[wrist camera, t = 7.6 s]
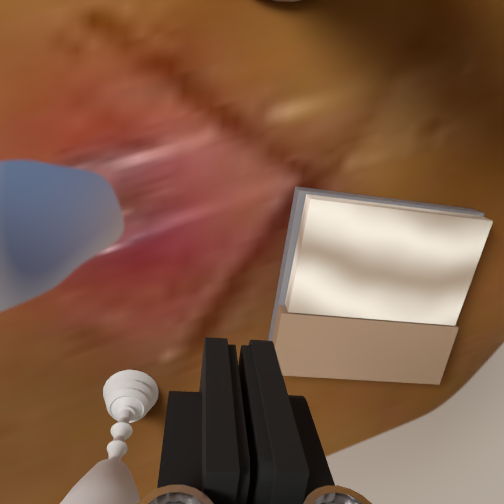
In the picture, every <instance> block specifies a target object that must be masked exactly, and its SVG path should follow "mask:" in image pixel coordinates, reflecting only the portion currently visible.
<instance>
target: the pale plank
mask: <svg viewBox="0 0 504 504" xmlns="http://www.w3.org/2000/svg"><path fill="white" fill-rule="evenodd" d="M492 223H493V221H492V220H490V219H488V218H485V217H483V216H480V215H472V214H464V213H456V212H448V211H439V210H431V209H423V208H415V207H407V206H399V205H391V204H383V203H375V202H366V201H358V200H350V199H342V198H334V197H326V196H318V195H310V194H306V198H305V203H304V208H303V214H302V219H301V224H300V229H299V234H298V239H297V244H296V249H295V254H294V259H293V265H292V270H291V275H290V280H289V285H288V290H287V295H286V300H285V305H286V308H287V311H288V312H291V313H304V314H316V315H329V316H341V317H353V318H366V319H378V320H390V321H403V322H415V323H427V324H440V325H452V326H455V325H456V322H457V319H458V316H459V314H460V311H461V308H462V305H463V303H464V300H465V297H466V294H467V292H468V289H469V286H470V283H471V281H472V278H473V275H474V272H475V270H476V267H477V264H478V261H479V259H480V256H481V253H482V250H483V248H484V245H485V242H486V239H487V237H488V234H489V231H490V228H491V226H492Z"/></svg>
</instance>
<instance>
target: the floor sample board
mask: <svg viewBox="0 0 504 504" xmlns="http://www.w3.org/2000/svg"><path fill="white" fill-rule="evenodd" d="M306 194H310V195H318V196H326V197H334V198H342V199H350V200H358V201H366V202H375V203H383V204H391V205H399V206H407V207H415V208H423V209H431V210H439V211H448V212H456V213H464V214H472V215H480V216H483V217H484V214H485V213H483V212H480V211H478V210H475V209H471V208H463V207H455V206H447V205H439V204H431V203H423V202H415V201H407V200H399V199H391V198H383V197H375V196H367V195H359V194H351V193H343V192H335V191H327V190H319V189H311V188H304V187H296V186H295V192H294V197H293V203H292V209H291V214H290V220H289V226H288V231H287V237H286V242H285V248H284V254H283V259H282V265H281V271H280V276H279V282H278V287H277V293H276V299H275V304H274V310H273V316H272V321H271V327H270V332H269V338H268V341H273V343H274V347H275V351H276V354H277V358H278V361H279V365H280V368H281V372H282V375H283V376H300V377H317V378H335V379H352V380H369V381H386V382H403V383H420V384H437V385H440V382H441V379H442V376H443V373H444V370H445V367H446V364H447V361H448V358H449V355H450V352H451V349H452V347H453V344H454V341H455V338H456V335H457V332H458V329H459V327H458V326H457V325H455V326H452V325H440V324H427V323H415V322H403V321H390V320H378V319H366V318H353V317H341V316H329V315H316V314H304V313H291V312H288V311H287V308H286V305H285V300H286V295H287V290H288V285H289V280H290V275H291V270H292V265H293V259H294V254H295V249H296V244H297V239H298V234H299V229H300V224H301V219H302V214H303V208H304V203H305V198H306Z"/></svg>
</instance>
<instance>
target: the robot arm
mask: <svg viewBox="0 0 504 504" xmlns="http://www.w3.org/2000/svg"><path fill="white" fill-rule="evenodd" d="M274 1H286V2H295V1H300V0H274ZM137 504H372V503H371V502H369V501H368V500H367V499H366V498H365V497H364V496H362V495H360V494H359V493H357V492H355V491H353V490H351V489H348V488H345V487H341V486H335V484H334V482H333V478H332V475H331V473H330V470H329V467H328V464H327V460H326V457H325V455H324V452H323V449H322V446H321V443H320V440H319V437H318V434H317V431H316V428H315V425H314V422H313V419H312V416H311V413H310V410H309V407H308V404H307V401H306V399H305V397H303V396H293V395H288V393H287V390H286V386H285V383H284V379H283V376H282V372H281V368H280V365H279V361H278V358H277V354H276V351H275V347H274V343H273V341H263V340H250V342H249V346H246V345H242V346H241V351H240V358H239V365H238V361H237V352H236V345H228V341H227V339H226V338H207V337H205V341H204V351H203V360H202V370H201V380H200V390H199V392H181V391H169V396H168V404H167V413H166V421H165V429H164V437H163V446H162V454H161V462H160V471H159V479H158V487H157V489H155V490H154V491H152V492H150V493H148V494H147V495H145V496H144V497H143V498H142V499H141V500H140V501H139V502H138V503H137Z"/></svg>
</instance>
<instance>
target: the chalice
mask: <svg viewBox="0 0 504 504" xmlns="http://www.w3.org/2000/svg"><path fill="white" fill-rule="evenodd" d="M158 392H159V390H158V387H157V384H156V382H155V381H154V380H153V379H152V377H150V376H149V375H147V374H146V373H143V372H140V371H137V370H125V371H120V372H118V373H116V374H114V375H112V376H111V377H110V378H109V379H108V380H107V381H106V383H105V386H104V388H103V396H104V399H105V403H106V406H107V410H108V413H109V414H110V415H111V416H112V417H113V418H114V419H116V420H117V421H118V423H116V424H114V425H113V426H112V428H111V435H112V436H113V437H114V440H113V441H112V442H110V443H109V444H108V446H107V452H108V453H109V459H106V460H102V461H100V462H99V463H97V464H96V465H95V466H94V467H93V468H92V469H91V470H90V471H89V472H88V473H87V474H86V475H85V476H84V477H83V478H82V479H81V480H80V481H79V482H78V483H77V484H76V485H75V486H74V487H73V488H72V489H71V490H70V492H69V493H68V494H67V495H66V497H65V498H64V499H63V501H62V502H61V503H60V504H137V503H138V502H139V501H140V497H139V494H138V491H137V488H136V485H135V483H134V480H133V478H132V475H131V473H130V470H129V468H128V466H127V465H126V464H125V463H123V462H122V461H120V460H121V458H122V456H123V455H124V454H125V453H126V452H127V445H126V444H125V439H127V438H129V437H130V436H131V434H132V427H131V426H130V425H129V423H131V422H135V421H138V420H140V419H142V418H143V417H144V416H145V415H146V414H147V412H148V411H149V410H150V409H151V408H152V407H153V406H154V405H155V403H156V401H157V399H158Z"/></svg>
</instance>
